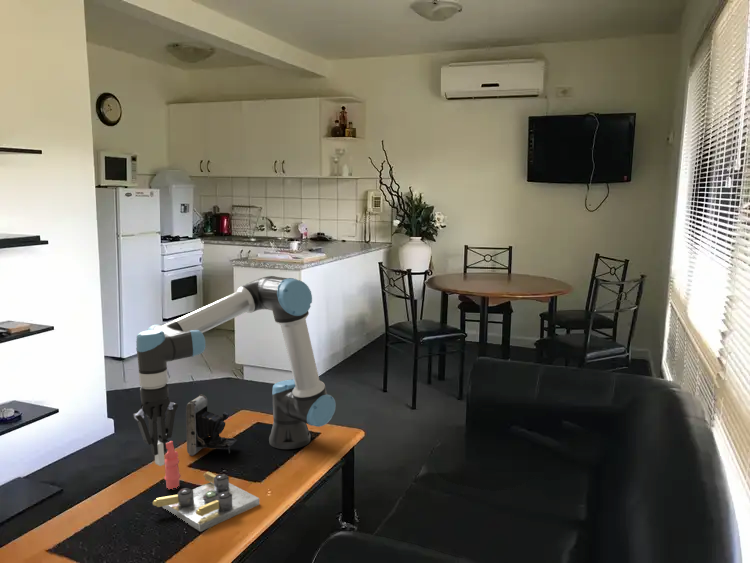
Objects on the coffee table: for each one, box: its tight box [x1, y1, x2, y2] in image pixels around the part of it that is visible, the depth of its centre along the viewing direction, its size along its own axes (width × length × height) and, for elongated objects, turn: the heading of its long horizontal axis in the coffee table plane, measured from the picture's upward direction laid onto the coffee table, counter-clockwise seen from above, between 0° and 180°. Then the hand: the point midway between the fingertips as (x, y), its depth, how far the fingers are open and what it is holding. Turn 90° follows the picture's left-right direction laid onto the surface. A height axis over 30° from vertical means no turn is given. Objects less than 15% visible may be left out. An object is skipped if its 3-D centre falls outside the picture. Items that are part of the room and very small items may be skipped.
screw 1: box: [152, 487, 194, 508], centre depth 180 cm, size 11×4×4 cm, turn 111°
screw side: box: [196, 492, 232, 516], centre depth 176 cm, size 11×4×4 cm, turn 138°
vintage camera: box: [185, 394, 238, 457], centre depth 222 cm, size 10×16×20 cm, turn 78°
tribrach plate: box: [162, 482, 260, 532], centre depth 183 cm, size 20×20×4 cm
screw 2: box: [203, 471, 230, 491], centre depth 192 cm, size 11×4×4 cm, turn 48°
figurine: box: [163, 440, 182, 490], centre depth 195 cm, size 5×5×15 cm
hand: (159, 463), depth 179 cm, fingers closed
